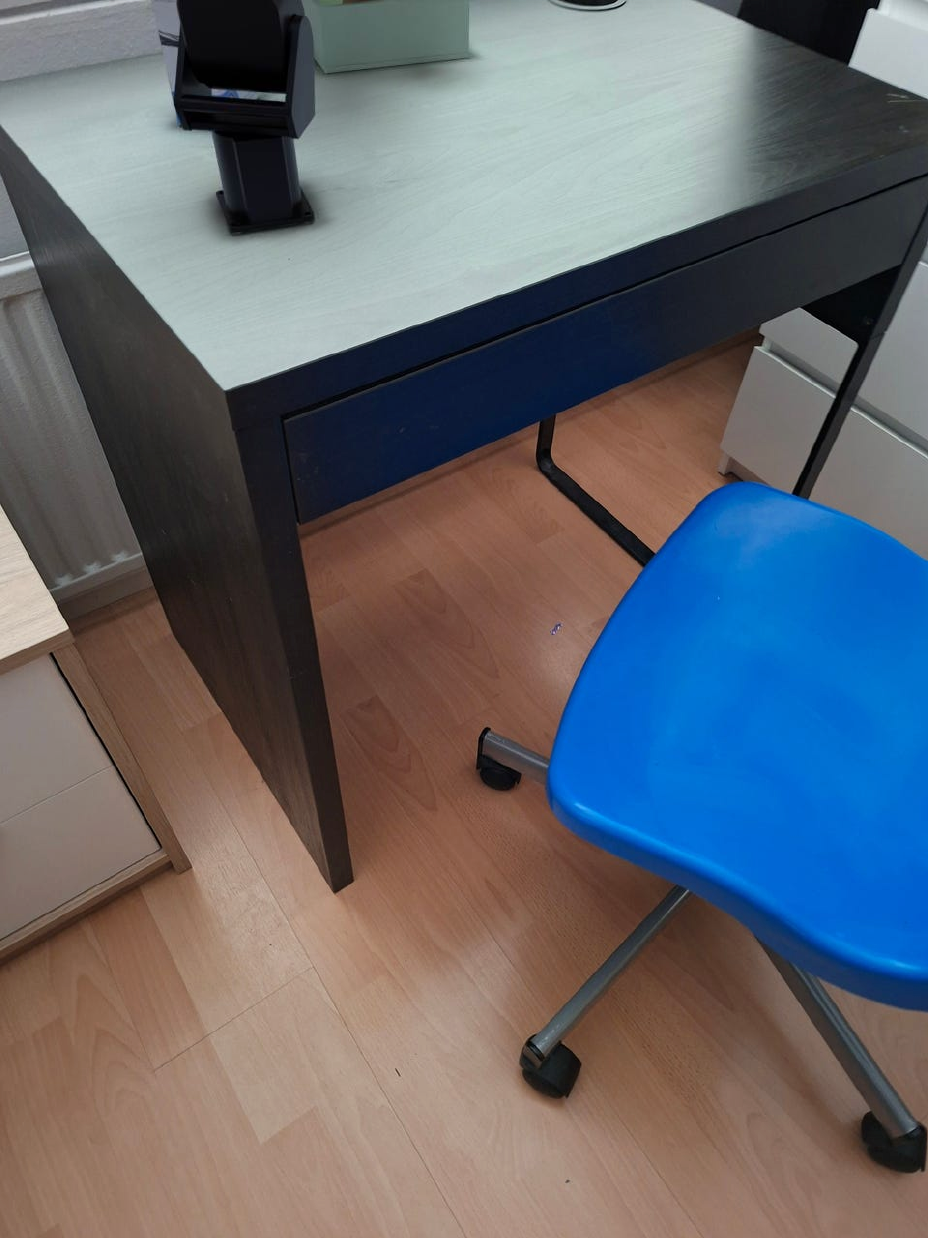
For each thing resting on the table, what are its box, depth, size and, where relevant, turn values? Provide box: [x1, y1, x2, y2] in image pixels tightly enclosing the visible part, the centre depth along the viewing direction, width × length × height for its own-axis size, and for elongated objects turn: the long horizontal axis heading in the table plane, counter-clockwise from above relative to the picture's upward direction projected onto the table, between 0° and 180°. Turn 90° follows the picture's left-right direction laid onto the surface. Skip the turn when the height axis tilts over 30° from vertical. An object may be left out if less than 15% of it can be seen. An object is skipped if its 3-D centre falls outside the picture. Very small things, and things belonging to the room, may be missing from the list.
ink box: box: [150, 0, 260, 126], centre depth 73 cm, size 8×5×12 cm, turn 168°
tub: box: [301, 0, 470, 74], centre depth 88 cm, size 15×15×6 cm
